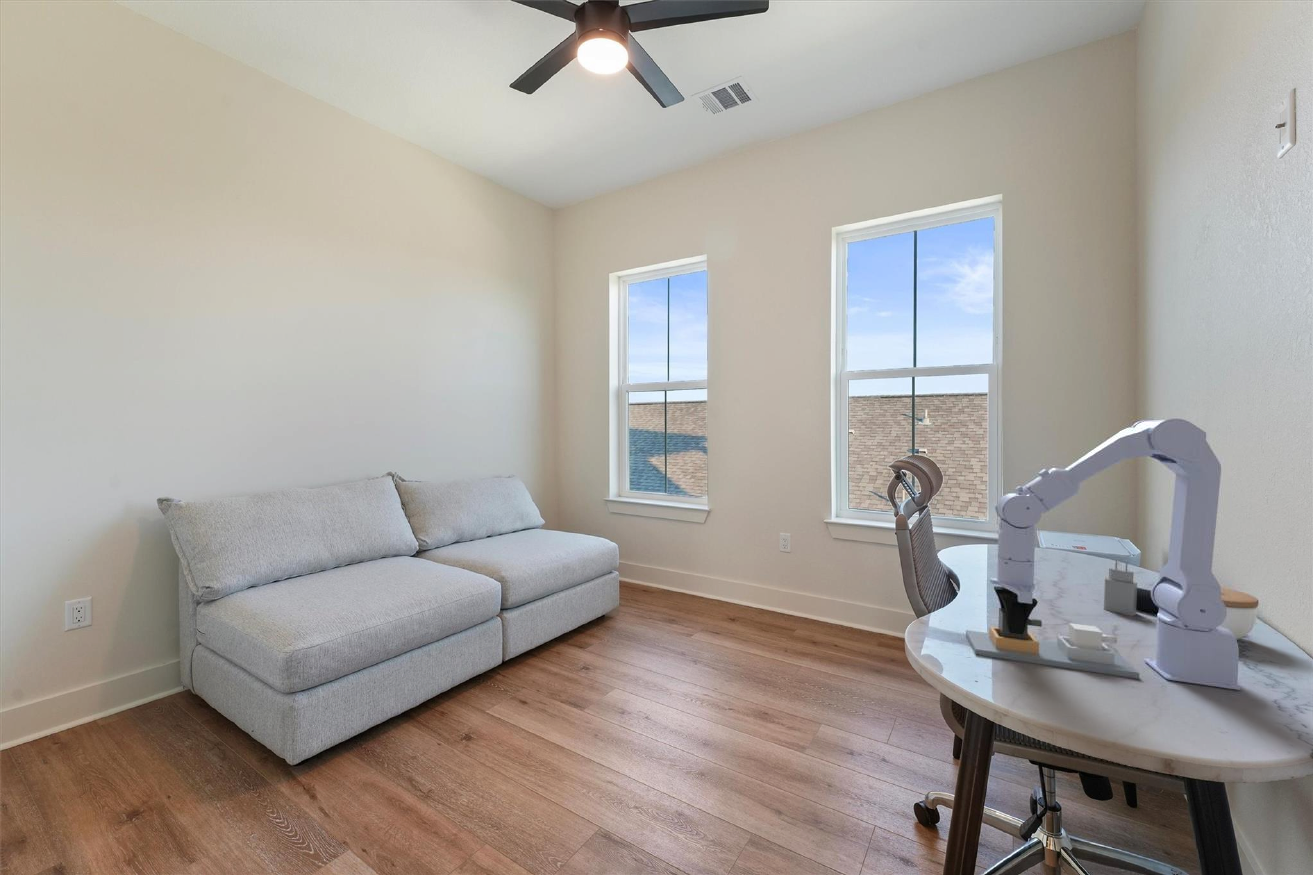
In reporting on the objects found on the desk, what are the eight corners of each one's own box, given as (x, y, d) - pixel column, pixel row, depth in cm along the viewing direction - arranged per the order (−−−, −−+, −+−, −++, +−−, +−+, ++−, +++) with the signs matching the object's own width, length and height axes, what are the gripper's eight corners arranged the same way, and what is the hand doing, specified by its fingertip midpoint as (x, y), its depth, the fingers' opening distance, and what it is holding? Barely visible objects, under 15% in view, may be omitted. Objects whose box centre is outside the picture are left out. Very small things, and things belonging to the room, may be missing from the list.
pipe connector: (1149, 580, 131) (1236, 598, 118) (1148, 602, 131) (1235, 622, 118) (1127, 587, 126) (1216, 607, 113) (1127, 610, 126) (1215, 632, 113)
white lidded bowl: (1244, 653, 101) (1246, 595, 101) (1157, 630, 112) (1159, 578, 112) (1265, 641, 107) (1268, 586, 107) (1181, 620, 118) (1183, 571, 118)
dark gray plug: (1037, 639, 101) (1038, 612, 100) (1042, 645, 98) (1043, 618, 98) (998, 633, 103) (999, 607, 103) (1001, 639, 100) (1002, 613, 100)
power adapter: (1132, 616, 121) (1134, 563, 120) (1102, 609, 125) (1104, 558, 125) (1137, 613, 122) (1138, 561, 122) (1107, 606, 127) (1108, 556, 127)
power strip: (1113, 655, 99) (1114, 623, 99) (1139, 678, 90) (1140, 643, 90) (965, 634, 108) (966, 605, 108) (975, 654, 99) (976, 622, 98)
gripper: (983, 547, 109) (981, 614, 109) (1000, 564, 95) (997, 640, 95) (1024, 551, 106) (1022, 619, 106) (1047, 569, 92) (1045, 647, 93)
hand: (1013, 629), depth 101 cm, fingers closed on dark gray plug, 3 cm apart
